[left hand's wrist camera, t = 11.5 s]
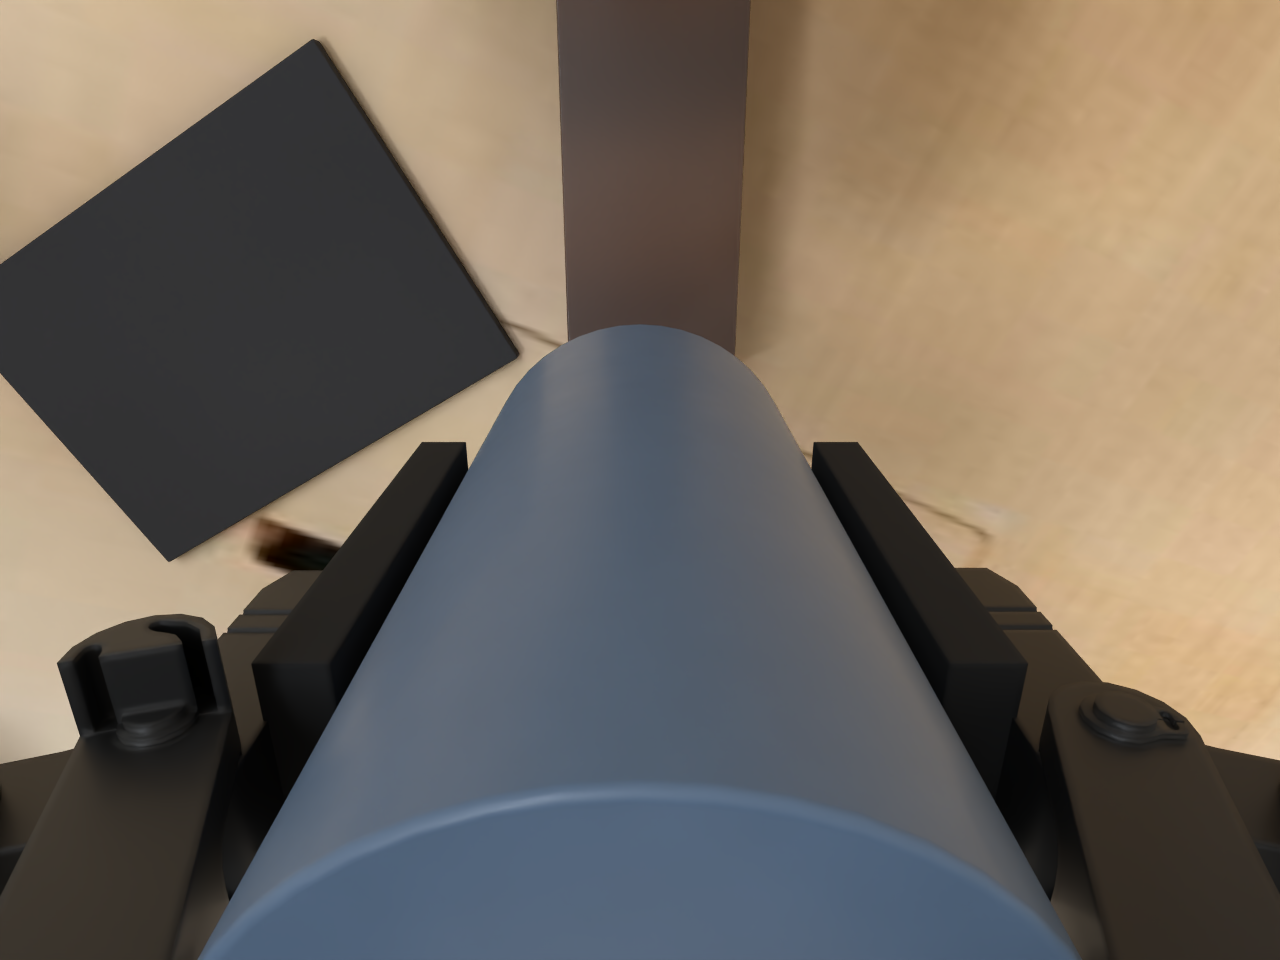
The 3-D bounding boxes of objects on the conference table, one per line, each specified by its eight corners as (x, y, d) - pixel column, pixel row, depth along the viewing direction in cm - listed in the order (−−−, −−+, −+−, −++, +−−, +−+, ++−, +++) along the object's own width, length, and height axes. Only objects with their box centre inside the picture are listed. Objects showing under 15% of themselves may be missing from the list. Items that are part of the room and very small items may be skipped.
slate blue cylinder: (590, 645, 18) (506, 1471, 7) (432, 420, 16) (-71, 1050, 5) (838, 521, 17) (1244, 1264, 5) (700, 263, 15) (889, 594, 4)
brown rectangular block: (718, 373, 35) (732, 413, 30) (582, 373, 35) (570, 413, 30) (742, -266, 27) (767, -375, 21) (564, -265, 27) (542, -373, 21)
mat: (175, 556, 39) (168, 562, 38) (-49, 304, 34) (-60, 306, 34) (520, 354, 35) (518, 357, 34) (318, 40, 31) (312, 38, 30)
